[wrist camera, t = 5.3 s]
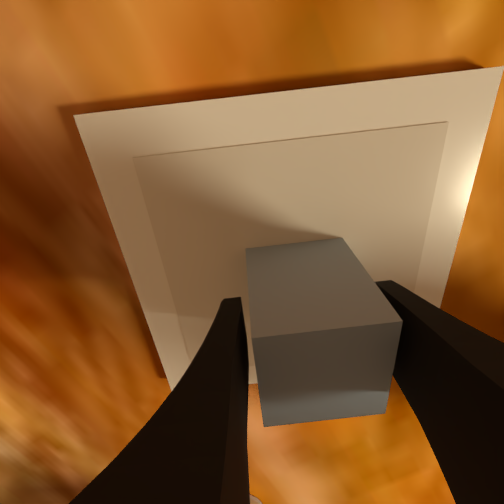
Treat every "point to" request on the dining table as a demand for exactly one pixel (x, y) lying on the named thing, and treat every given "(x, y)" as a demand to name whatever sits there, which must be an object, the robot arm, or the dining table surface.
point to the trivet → (287, 188)
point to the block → (319, 333)
